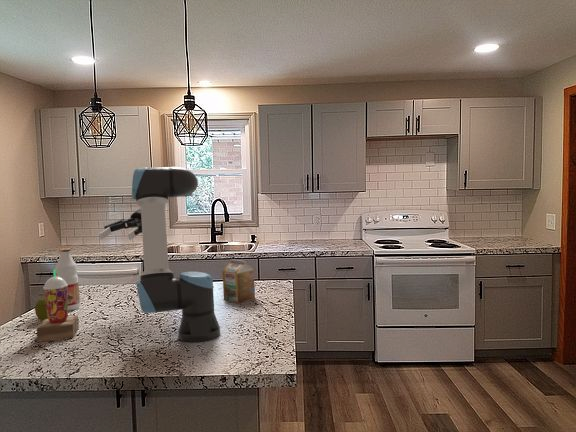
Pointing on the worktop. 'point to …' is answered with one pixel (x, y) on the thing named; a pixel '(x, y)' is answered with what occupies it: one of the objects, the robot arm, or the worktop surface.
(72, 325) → the brown flat block
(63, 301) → the smoothie
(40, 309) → the apple
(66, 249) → the fruit juice
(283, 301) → the worktop surface
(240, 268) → the milk carton
